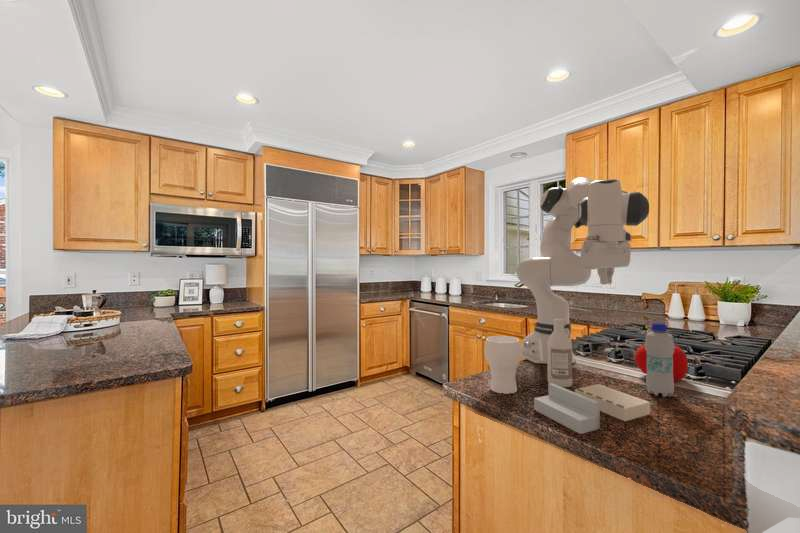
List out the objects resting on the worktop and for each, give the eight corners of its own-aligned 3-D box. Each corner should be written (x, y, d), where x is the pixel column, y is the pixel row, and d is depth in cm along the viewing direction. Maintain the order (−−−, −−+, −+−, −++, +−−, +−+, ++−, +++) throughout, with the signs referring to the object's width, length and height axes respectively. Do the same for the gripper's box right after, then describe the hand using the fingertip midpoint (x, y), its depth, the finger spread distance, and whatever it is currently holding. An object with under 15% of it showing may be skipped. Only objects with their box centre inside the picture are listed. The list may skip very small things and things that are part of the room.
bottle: (680, 399, 95) (679, 325, 94) (652, 398, 96) (651, 324, 96) (667, 390, 101) (666, 320, 101) (640, 389, 103) (640, 320, 102)
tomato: (669, 388, 103) (669, 349, 103) (627, 373, 116) (626, 339, 116) (700, 382, 107) (699, 345, 106) (655, 369, 120) (655, 335, 120)
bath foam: (577, 387, 106) (576, 320, 105) (555, 388, 105) (553, 321, 105) (564, 379, 113) (563, 316, 112) (543, 380, 112) (542, 317, 111)
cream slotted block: (575, 400, 96) (575, 388, 96) (598, 394, 100) (598, 383, 100) (624, 421, 83) (624, 408, 83) (650, 414, 87) (650, 401, 87)
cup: (477, 388, 107) (476, 339, 106) (499, 380, 113) (498, 333, 113) (508, 399, 98) (507, 345, 98) (529, 389, 105) (528, 339, 105)
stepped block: (534, 409, 91) (533, 386, 91) (552, 405, 93) (551, 383, 93) (580, 434, 78) (579, 407, 78) (599, 428, 80) (599, 402, 80)
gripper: (596, 234, 93) (597, 287, 94) (634, 235, 104) (635, 282, 105) (573, 236, 99) (574, 286, 99) (612, 236, 109) (613, 281, 110)
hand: (606, 284), depth 102 cm, fingers closed
